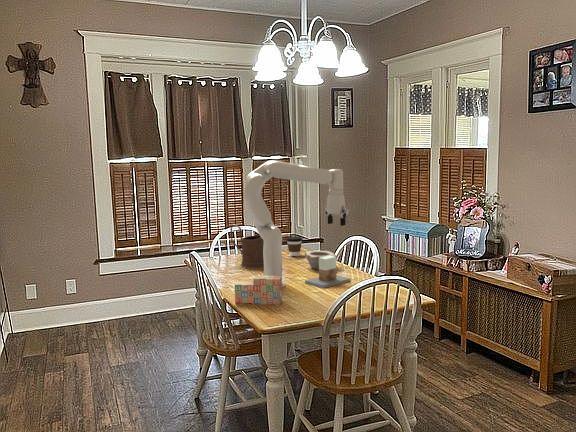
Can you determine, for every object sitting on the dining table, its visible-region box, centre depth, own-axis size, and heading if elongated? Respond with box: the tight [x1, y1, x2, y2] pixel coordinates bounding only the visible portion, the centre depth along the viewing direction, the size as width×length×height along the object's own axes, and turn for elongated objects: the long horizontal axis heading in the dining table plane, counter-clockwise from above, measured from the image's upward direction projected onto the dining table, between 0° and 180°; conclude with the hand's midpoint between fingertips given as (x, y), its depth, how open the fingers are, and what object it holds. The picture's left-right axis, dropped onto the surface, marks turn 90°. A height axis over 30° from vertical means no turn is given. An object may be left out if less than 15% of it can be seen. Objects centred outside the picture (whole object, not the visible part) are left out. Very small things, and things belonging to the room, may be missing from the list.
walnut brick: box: [318, 267, 337, 282], centre depth 278 cm, size 8×5×6 cm, turn 129°
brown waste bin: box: [230, 224, 264, 269], centre depth 323 cm, size 18×24×25 cm
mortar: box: [304, 250, 338, 270], centre depth 312 cm, size 17×17×9 cm
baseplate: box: [304, 274, 352, 289], centre depth 279 cm, size 20×14×2 cm
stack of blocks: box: [234, 275, 283, 306], centre depth 245 cm, size 21×6×12 cm, turn 81°
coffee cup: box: [285, 236, 303, 257], centre depth 349 cm, size 11×11×12 cm
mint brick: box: [318, 256, 337, 270], centre depth 277 cm, size 8×5×6 cm, turn 130°
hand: (336, 224), depth 279 cm, fingers open, 9 cm apart
